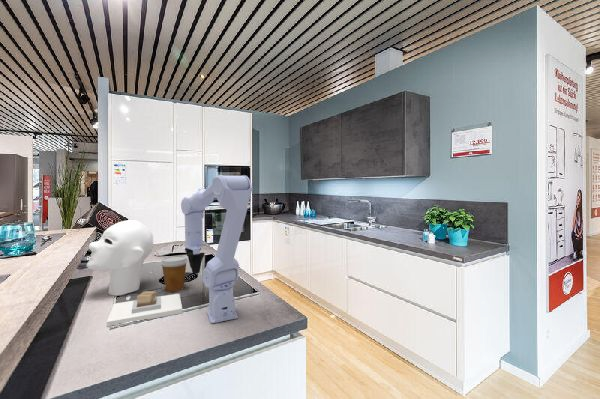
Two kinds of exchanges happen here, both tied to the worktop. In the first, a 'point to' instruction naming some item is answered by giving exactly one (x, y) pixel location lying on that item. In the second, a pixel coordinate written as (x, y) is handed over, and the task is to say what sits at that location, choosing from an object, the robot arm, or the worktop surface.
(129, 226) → the mannequin head
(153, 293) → the oak cube
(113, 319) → the display stand
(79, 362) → the worktop surface
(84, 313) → the worktop surface
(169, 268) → the disposable coffee cup
